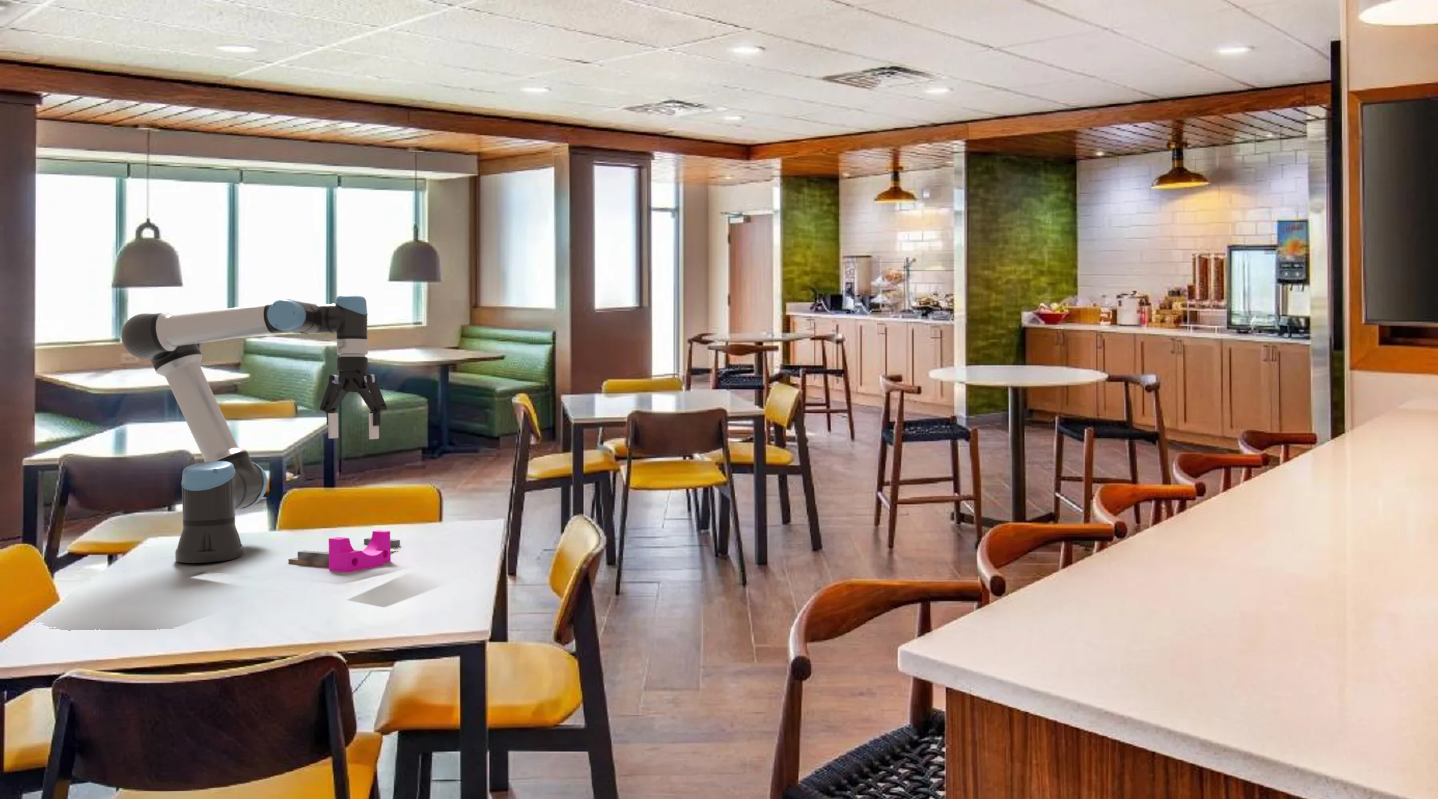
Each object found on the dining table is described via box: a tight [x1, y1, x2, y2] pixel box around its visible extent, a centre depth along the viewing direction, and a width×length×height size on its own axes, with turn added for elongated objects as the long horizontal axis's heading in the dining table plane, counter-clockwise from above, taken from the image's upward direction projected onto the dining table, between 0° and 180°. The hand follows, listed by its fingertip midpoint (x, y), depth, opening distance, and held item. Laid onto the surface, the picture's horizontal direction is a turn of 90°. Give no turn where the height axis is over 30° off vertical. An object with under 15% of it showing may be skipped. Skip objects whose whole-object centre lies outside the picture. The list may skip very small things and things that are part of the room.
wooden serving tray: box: [288, 537, 401, 568], centre depth 262 cm, size 16×24×3 cm, turn 156°
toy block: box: [328, 529, 392, 573], centre depth 250 cm, size 15×6×8 cm, turn 150°
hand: (353, 438), depth 274 cm, fingers open, 13 cm apart
